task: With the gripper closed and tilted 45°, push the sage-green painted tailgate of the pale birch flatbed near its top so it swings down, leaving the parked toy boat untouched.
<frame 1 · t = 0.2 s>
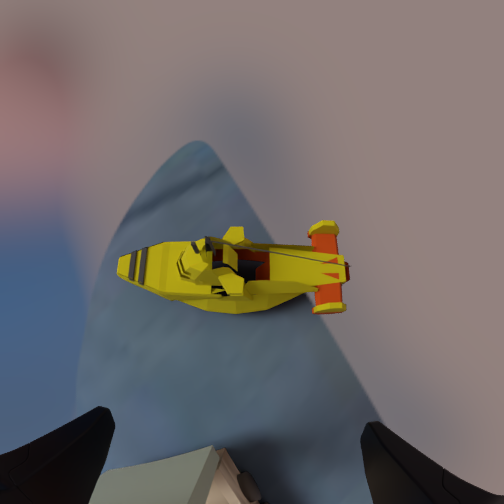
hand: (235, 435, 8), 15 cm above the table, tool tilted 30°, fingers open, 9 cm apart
toy boat: (235, 283, 25), on the table
tailgate: (129, 492, 11), point 9 cm above the table, hinge at 0.0°
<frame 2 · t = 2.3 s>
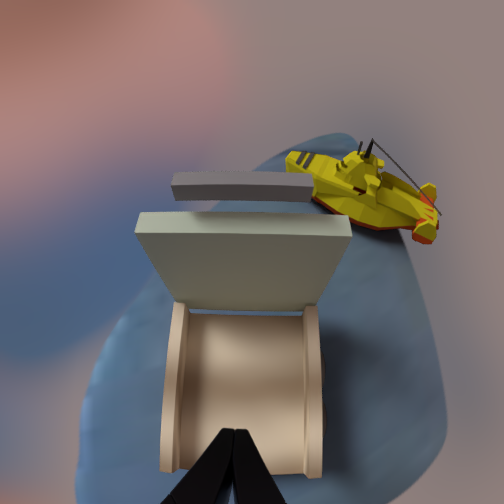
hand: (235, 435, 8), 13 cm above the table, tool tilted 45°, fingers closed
toy boat: (355, 215, 31), on the table
flatbed: (244, 397, 20), on the table
tailgate: (244, 260, 16), point 9 cm above the table, hinge at -1.9°
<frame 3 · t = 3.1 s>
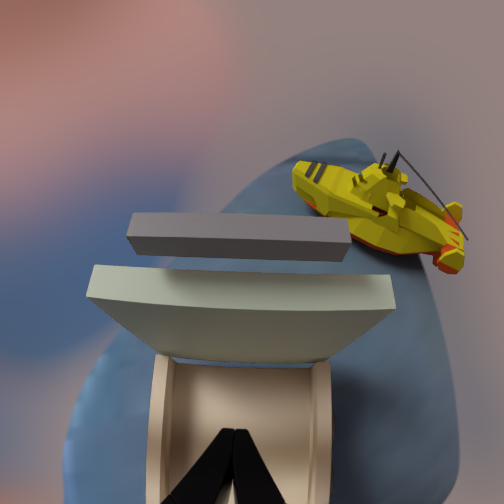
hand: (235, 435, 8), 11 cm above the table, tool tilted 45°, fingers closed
toy boat: (371, 236, 26), on the table
flatbed: (240, 452, 16), on the table
tailgate: (241, 319, 12), point 9 cm above the table, hinge at -1.9°
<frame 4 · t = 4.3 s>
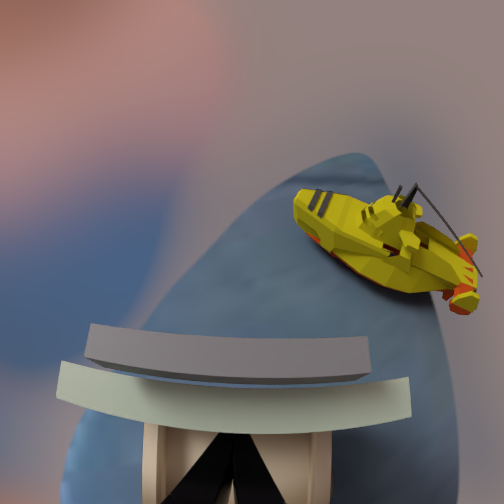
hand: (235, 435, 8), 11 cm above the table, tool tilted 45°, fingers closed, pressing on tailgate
toy boat: (378, 270, 24), on the table
flatbed: (237, 502, 13), on the table
tailgate: (234, 404, 10), point 9 cm above the table, hinge at 1.3°, touching gripper
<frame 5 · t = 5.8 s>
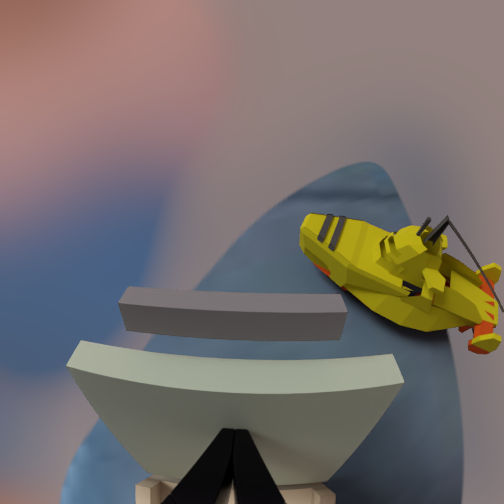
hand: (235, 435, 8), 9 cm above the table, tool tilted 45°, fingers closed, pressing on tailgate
toy boat: (392, 301, 21), on the table
tailgate: (233, 427, 9), point 8 cm above the table, hinge at 30.6°, touching gripper
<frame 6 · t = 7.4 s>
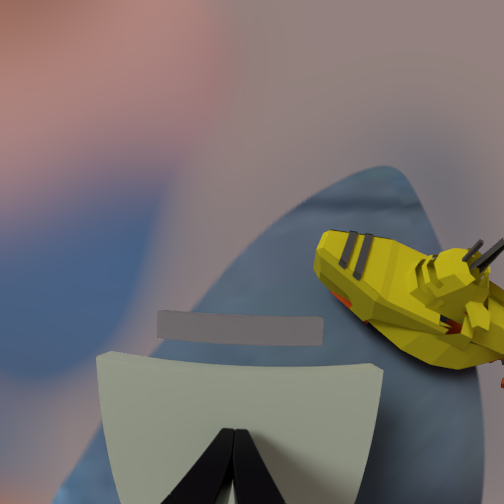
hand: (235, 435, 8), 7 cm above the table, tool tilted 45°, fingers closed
toy boat: (418, 332, 16), on the table
tailgate: (235, 459, 9), point 5 cm above the table, hinge at 65.0°
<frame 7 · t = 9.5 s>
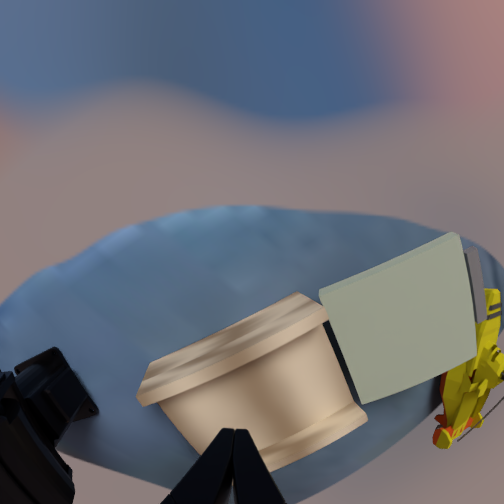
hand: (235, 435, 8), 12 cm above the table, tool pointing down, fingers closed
toy boat: (449, 362, 24), on the table
flatbed: (252, 383, 20), on the table
tailgate: (419, 320, 17), point 5 cm above the table, hinge at 65.0°
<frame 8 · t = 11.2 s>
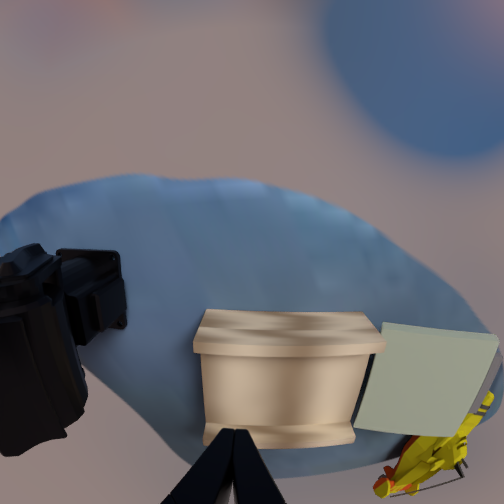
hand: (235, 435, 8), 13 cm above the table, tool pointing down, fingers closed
toy boat: (423, 428, 24), on the table
flatbed: (281, 366, 22), on the table
tailgate: (434, 385, 17), point 5 cm above the table, hinge at 65.0°
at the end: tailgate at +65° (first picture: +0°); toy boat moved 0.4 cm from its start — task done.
